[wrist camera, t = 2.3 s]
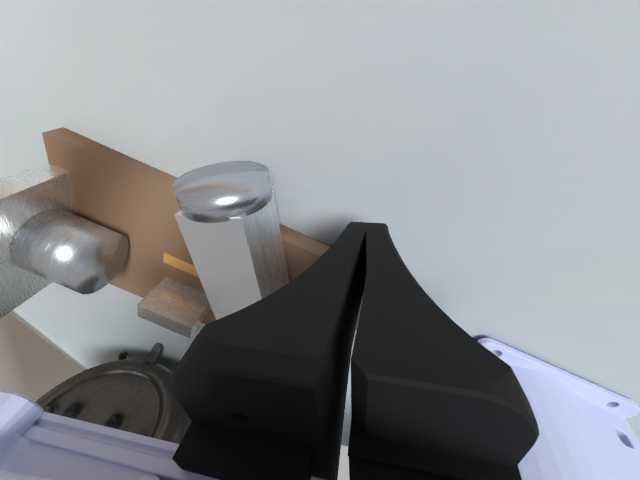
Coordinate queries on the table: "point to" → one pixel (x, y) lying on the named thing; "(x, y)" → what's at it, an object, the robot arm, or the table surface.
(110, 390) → the alarm clock
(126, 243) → the square plate with knob
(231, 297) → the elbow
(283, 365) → the robot arm
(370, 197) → the table surface
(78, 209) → the board
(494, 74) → the table surface
